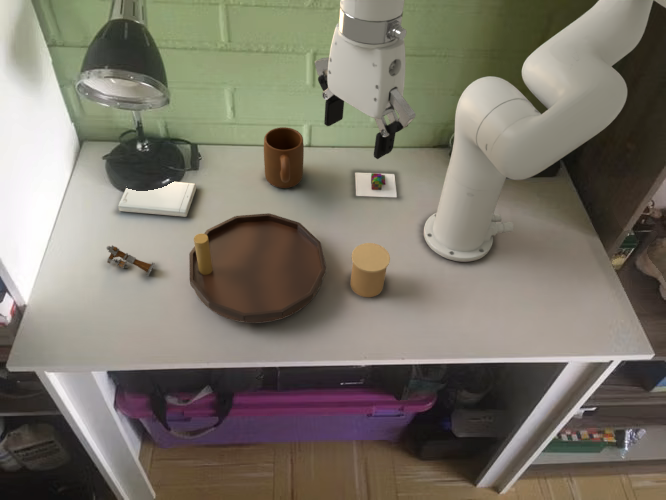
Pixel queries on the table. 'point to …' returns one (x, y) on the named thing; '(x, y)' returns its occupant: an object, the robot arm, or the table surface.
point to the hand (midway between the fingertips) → (357, 137)
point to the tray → (256, 267)
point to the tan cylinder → (369, 269)
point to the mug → (283, 157)
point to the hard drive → (160, 200)
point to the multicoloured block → (375, 185)
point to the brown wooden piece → (127, 260)
